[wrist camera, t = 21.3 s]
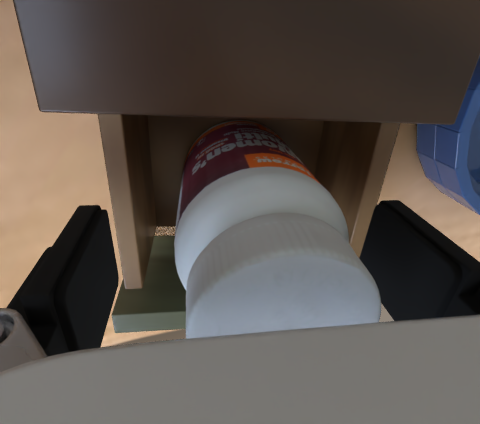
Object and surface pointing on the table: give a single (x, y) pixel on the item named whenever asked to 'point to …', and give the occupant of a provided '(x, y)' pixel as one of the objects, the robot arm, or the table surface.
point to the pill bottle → (263, 240)
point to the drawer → (169, 184)
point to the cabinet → (253, 58)
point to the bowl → (455, 150)
